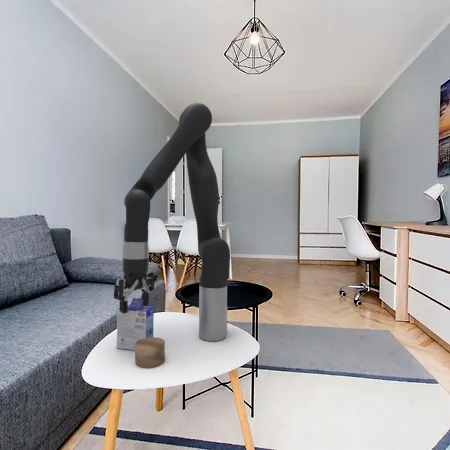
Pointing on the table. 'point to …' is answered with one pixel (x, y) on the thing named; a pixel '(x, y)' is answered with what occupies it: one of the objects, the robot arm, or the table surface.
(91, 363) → the table surface
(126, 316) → the ink cartridge box
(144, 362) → the walnut block
